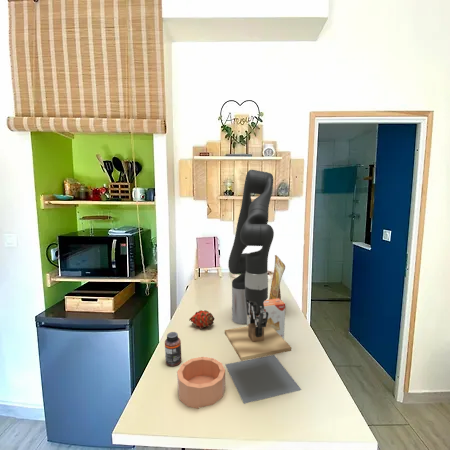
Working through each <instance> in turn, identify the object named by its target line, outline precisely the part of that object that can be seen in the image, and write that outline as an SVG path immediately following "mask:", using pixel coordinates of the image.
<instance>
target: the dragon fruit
mask: <svg viewBox="0 0 450 450" xmlns="http://www.w3.org/2000/svg"><path fill="white" fill-rule="evenodd" d="M189 321H190V322H191V325H192V326H193V327H199V329H200V330H201V329H204V328H206V329H207V328H208V327H210V326H212V325H213V324H214V321H215V316H214V315H213V314H212V313H211V312H210V311H208V310H206V309H205V310H201V309H200V310H198V311H196V312H195V313H194V314H193V315H192V316H191V317H190V318H189Z"/></svg>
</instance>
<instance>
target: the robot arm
mask: <svg viewBox="0 0 450 450" xmlns="http://www.w3.org/2000/svg"><path fill="white" fill-rule="evenodd" d="M273 186H274V175H273V173H270V172H268V171H262V170H256V169H249V170H248V171H247V173H246V175H245V179H244V187H243V192H242V193H243V194H242V201H241V206H240V209H239V215H238V218H237V223H236V230H235V234H234V240H233V244H232V247H231V251H230V255H229V257H228V262H227V263H228V264H227V266H228V270H229V271H228V272H230V273H231V274H233V275H237V274H239V275H238V276H237V277H235V278H234V279H232V281H231V320H232V322H233V323H234V324H239V325H244V324H246V325H247V315H249V319H250V324H251V323H255V336H256V337H261V336H262V327H266V324H267V319H268V312H265V311H264V303H263V302H264V301H265V300H268V299H269V274H268V273H269V272H268V268H269V267H268V265H269V264H268V261H269V260H268V259H269V255H270V250H271V246H272V243H273V240H274V237H275V236H274V235H275V232H274V229H273V227H272V226H271V224H268V222H269V210H270V209H269V208H270V203H271V199H272V198H271V197H272V193H273ZM251 194H255V195H259V196H257V197H256V198H255V199H253V200H252V196H251ZM248 247H261V248H260V249H259V250H257V251H252V252H249V253H248V252H246V253H245V252H244V251H245V249H246V248H248ZM243 252H244V253H243ZM258 315H259V316H258ZM257 316H258V317H257Z"/></svg>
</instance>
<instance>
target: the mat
mask: <svg viewBox="0 0 450 450" xmlns="http://www.w3.org/2000/svg"><path fill="white" fill-rule="evenodd" d="M225 367H226V369H227V372H228V373H229V376H230V377H231V380H232V382H233V384H234V386H235V389H236V390H237V392H238V394H239V397H240V399H241V401H242V403H243V404H248V403H254V402H257V401H260V400H265V399H269V398H274V397H278V396H283V395H286V394H290V393H295V392H299V391H302V388H301V387H300V386H299V384H298V382H296V381H295V379H294V378H293V377H292V375H291V373H289V372H288V371H287V369H286V368H285V367H284V365H283V364H282V363H281V362H280V360H279V359H278V357H277V356H276V354H273V355H268V356H263V357H259V358H254V359H249V360H244V361H241V360H240V361H235V362H231V363H225Z"/></svg>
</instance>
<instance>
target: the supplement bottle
mask: <svg viewBox="0 0 450 450" xmlns="http://www.w3.org/2000/svg"><path fill="white" fill-rule="evenodd" d="M181 344H182V342H181V339H180V337H179V335H178V333H177V332H176V331H171V332H169V333H167V334H166V339H165V341H164V355H165V364H166V365H167V366H168V367H177V366H178V365H180V364H181V362H182V345H181Z"/></svg>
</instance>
